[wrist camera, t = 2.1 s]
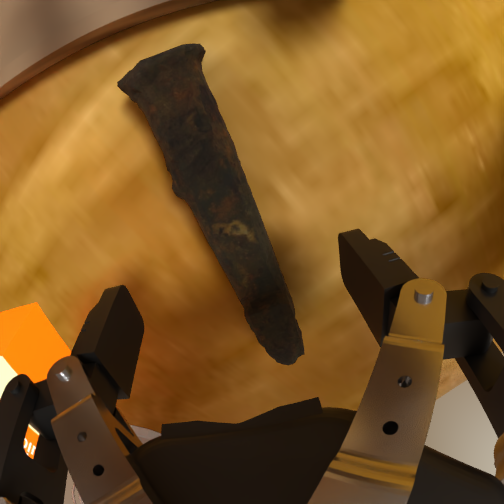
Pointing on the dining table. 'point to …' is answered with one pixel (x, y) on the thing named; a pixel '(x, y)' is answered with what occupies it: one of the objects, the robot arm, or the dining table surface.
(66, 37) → the cradle
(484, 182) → the dining table surface
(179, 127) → the hand tool
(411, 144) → the dining table surface
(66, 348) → the orange juice
